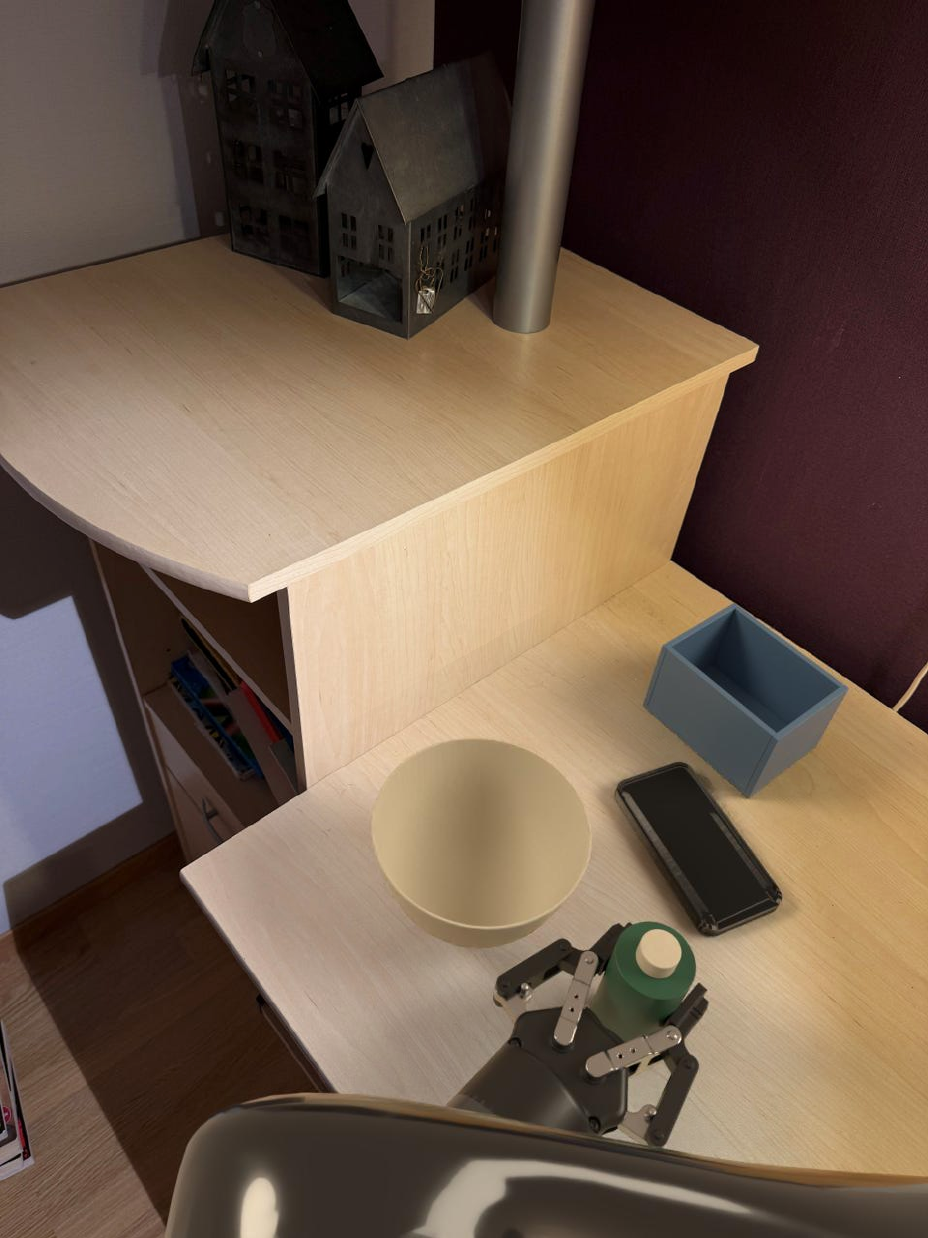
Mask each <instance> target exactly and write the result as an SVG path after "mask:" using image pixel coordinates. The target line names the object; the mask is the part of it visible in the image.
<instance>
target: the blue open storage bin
mask: <svg viewBox="0 0 928 1238" xmlns="http://www.w3.org/2000/svg"><path fill="white" fill-rule="evenodd" d="M658 654H659V655H658V658H657V661H656V664H655V667H654V669H653V673H652V675H651V679H650V682H649V684H648V687H647V691H646V694H645V698H644V700H643V703H642V706H643V708H644V709H646V710H647V711H648V712H649V713H650V714H651V715H652V716H654V717H655V718H656V719H657V720H658V721H659V722H661V723H662V724H663V725H664V726H665V727H666V728H667V729H668V730H669V731H671V732H672V733H673V734H674V735H675V736H676V737H678V738H679V739H680V740H681V741H682V742H683V743H684V744H685V745H687V747H689V748H690V749H691V750H692V751H693V752H694V753H695V754H697V756H699V757H700V758H701V759H702V760H703V761H705V762H706V763H707V764H708V765H709V766H710V767H711V768H712V769H714V770H715V771H716V772H717V773H718V774H719V775H721V776H722V777H723V778H724V779H725V780H726V781H727V782H729V783H730V784H731V785H732V786H733V787H734V788H735V789H736V790H738V791H739V792H740V794H742V796H744V797H745V798H747V799H751V797H753V796H755V795H756V794H757V793H758V792H759V791H760V790H762V789H763V788H764V787H766V786H767V785H769V784H770V783H771V782H772V781H774V780H775V779H776V778H777V777H779V776H780V775H781V774H783V773H784V772H785V771H787V770H788V769H789V768H790V767H792V766H793V765H794V764H796V763H797V762H799V761H800V760H801V759H802V758H804V757H805V756H806V755H807V754H809V753H810V752H811V751H813V750H814V749H815V748H817V747H818V745H819V743H820V741H821V740H822V737H823V736H824V734H825V732H826V730H827V728H828V727H829V725H830V723H831V721H832V720H833V718H834V716H835V715H836V713H837V711H838V709H839V707H840V706H841V704H842V702H843V700H844V699H845V697H846V695H847V693H848V692H849V689H850V687H848V686H847V685H846V684H844V683H843V682H841V681H840V680H839V679H837V678H836V677H835V676H834V675H832V674H831V673H830V672H828V671H827V670H826V669H824V668H822V666H820V665H819V664H817V663H816V662H815V661H813V660H812V659H811V658H810V657H808V656H806V655H805V654H804V653H802V652H801V651H800V650H799V649H797V648H796V647H795V646H793V645H792V644H790V643H789V642H788V641H786V639H784V638H782V637H781V636H779V635H778V634H777V632H774V631H773V630H772V629H770V628H769V627H768V626H766V625H765V624H764V623H762V622H761V621H760V620H758V619H757V618H756V617H754V615H752V614H750V613H749V612H748V611H746V610H745V609H744V608H742V607H741V606H739V605H738V604H737V603H735V602H733V603H731V604H730V605H728V606H726V607H724V608H723V609H721V610H720V611H718V612H715V613H714V614H713V615H710V616H709V617H708V618H706V619H705V620H703V621H701V622H699V623H698V624H696V625H695V626H693V627H691V628H689V629H687V630H686V631H684V632H683V633H681V634H679V635H677V636H676V637H674V638H673V639H671V640H669V641H667V642H666V643H663V644H662V646H661V648H660V652H659V653H658Z"/></svg>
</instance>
